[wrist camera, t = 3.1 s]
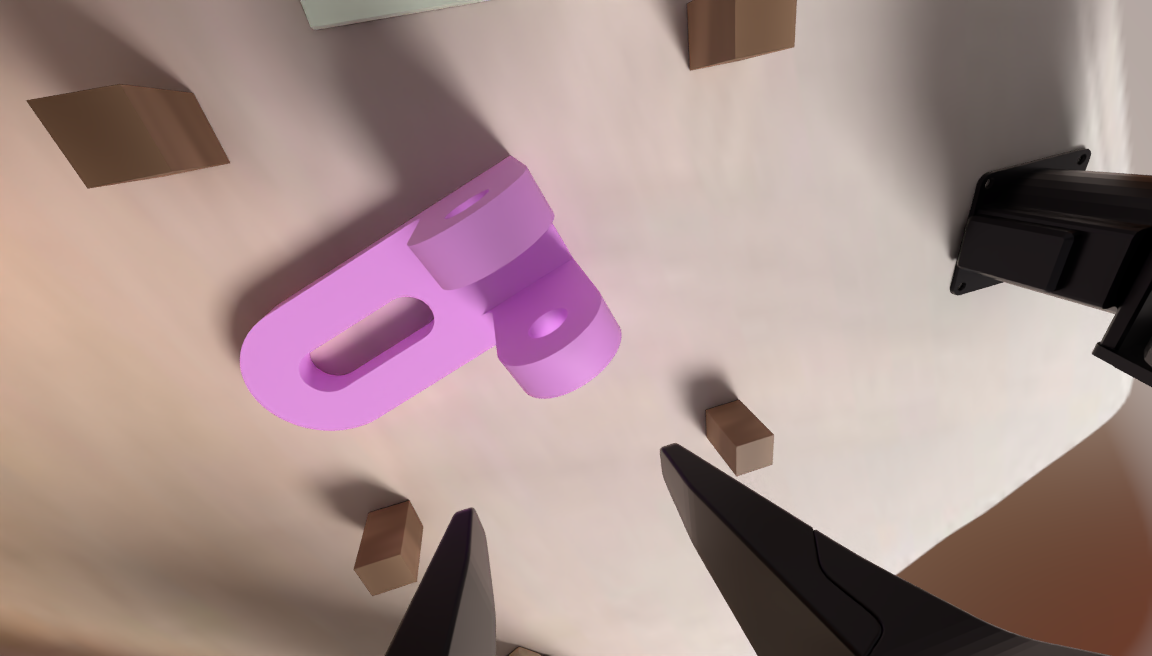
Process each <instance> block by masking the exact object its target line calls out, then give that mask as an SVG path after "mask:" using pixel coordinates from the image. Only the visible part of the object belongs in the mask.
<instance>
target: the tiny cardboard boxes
mask: <svg viewBox="0 0 1152 656" xmlns="http://www.w3.org/2000/svg"><path fill="white" fill-rule="evenodd" d="M796 5H797V0H693V1H691V2H689V3H688V4H687V16H688V38H689V60H690V70H695V69H700V68H705V67H710V66H715V65H720V64H725V63H730V62H735V61H740V60H744V59H748V58H752V57H756V56H760V55H764V54H768V53H772V52H776V51H780V50H784V49H788V48H792V47H794V43H795V24H796ZM26 101H27V102H28V104H29V105H30V107H31V108H32V110H33V111H34V112H35V114H36V115H37V117H38V118H39V120H40V121H41V122H42V124H43V125H44V127H45V128H46V130H47V131H48V132H49V134H50V135H51V137H52V138H53V140H54V141H55V142H56V144H57V145H58V147H59V148H60V150H61V151H62V152H63V154H64V155H65V157H66V158H67V160H68V161H69V162H70V164H71V165H72V167H73V168H74V170H75V171H76V173H77V174H78V175H79V177H80V178H81V180H82V181H83V183H84V184H85V185H86V187H87V188H94V187H101V186H107V185H113V184H119V183H126V182H132V181H138V180H145V179H151V178H157V177H163V176H168V175H173V174H178V173H183V172H188V171H193V170H198V169H203V168H208V167H213V166H218V165H223V164H228V163H230V161H229V160H228V158H227V156H226V154H225V152H224V150H223V148H222V146H221V145H220V143H219V141H218V139H217V137H216V135H215V133H214V131H213V129H212V128H211V126H210V124H209V122H208V120H207V118H206V116H205V114H204V112H203V111H202V109H201V107H200V105H199V103H198V101H197V99H196V97H195V96H194V94H193V93H188V92H180V91H172V90H164V89H156V88H148V87H140V86H132V85H124V84H117V85H111V86H106V87H100V88H94V89H88V90H83V91H77V92H71V93H66V94H60V95H54V96H48V97H43V98H37V99H31V100H26ZM706 431H707V438H708V440H709V441H710V442H711V444H712V445H713V446H714V448H715V449H716V450H717V452H718V453H719V454H720V455H721V457H722V458H723V459H724V461H725V462H726V463H727V465H728V466H729V467H730V469H731V470H732V471H733V473H734V474H735V475H736V476H739V475H742V474H745V473H748V472H751V471H754V470H757V469H760V468H764V467H767V466H770V465H772V463H773V444H774V434H773V433H772V432H771V431H770V430H769V429H768V428H767V427H766V426H765V425H764V424H763V423H762V422H761V421H760V420H759V419H758V418H757V417H756V416H755V415H754V414H753V413H752V412H751V411H750V410H749V409H748V408H747V407H746V406H745V405H744V404H743V403H742V402H741V401H740V400H737V401H733V402H730V403H727V404H723V405H720V406H717V407H714V408H710V409H707V410H706ZM422 533H423V525H422V523H421V521H420V519H419V518H418V516H417V514H416V512H415V510H414V508H413V506H412V504H411V503H410V501H406V502H403V503H399V504H396V505H393V506H390V507H386V508H383V509H380V510H376V511H373V512H370V513H368V517H367V521H366V525H365V528H364V532H363V536H362V540H361V544H360V547H359V551H358V555H357V559H356V562H355V566H354V571H355V572H356V573H357V575H358V576H359V578H360V579H361V581H362V582H363V583H364V585H365V586H366V588H367V589H368V591H369V592H370V593H371V595H372V596H374V595H377V594H380V593H383V592H386V591H389V590H392V589H396V588H399V587H402V586H405V585H408V584H411V583H414V582H417V576H418V567H419V559H420V550H421V542H422Z"/></svg>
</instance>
